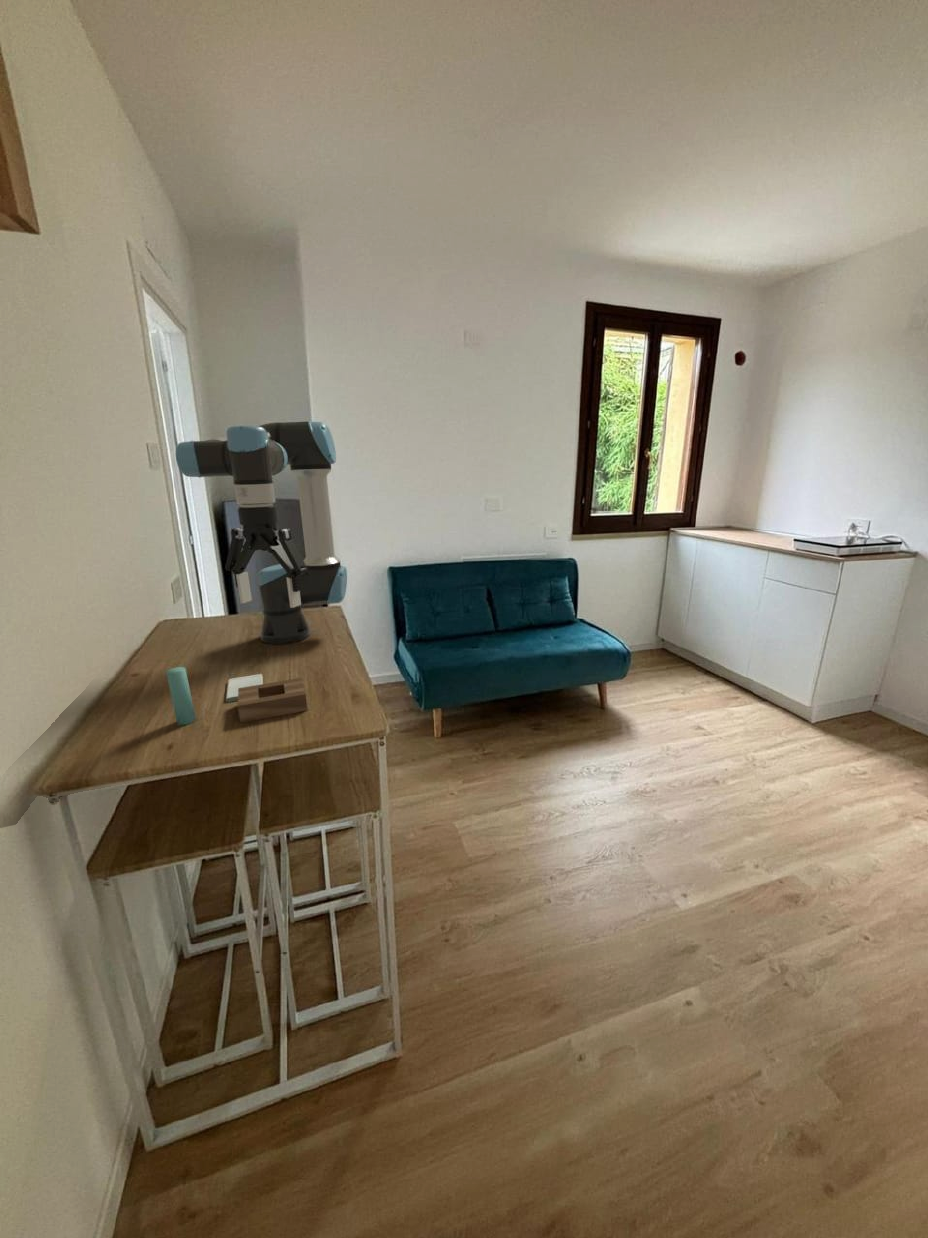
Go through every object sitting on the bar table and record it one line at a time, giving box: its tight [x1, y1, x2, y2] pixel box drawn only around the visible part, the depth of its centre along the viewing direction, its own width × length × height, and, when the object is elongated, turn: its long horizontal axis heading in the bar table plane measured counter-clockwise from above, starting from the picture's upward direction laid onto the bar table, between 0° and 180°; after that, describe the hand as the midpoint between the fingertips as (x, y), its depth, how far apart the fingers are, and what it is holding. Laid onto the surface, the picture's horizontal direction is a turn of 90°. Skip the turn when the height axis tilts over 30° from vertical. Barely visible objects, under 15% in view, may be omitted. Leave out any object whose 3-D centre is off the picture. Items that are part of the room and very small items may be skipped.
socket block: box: [237, 677, 308, 724], centre depth 116 cm, size 10×14×4 cm
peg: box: [166, 666, 197, 726], centre depth 110 cm, size 4×4×12 cm
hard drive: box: [225, 673, 264, 703], centre depth 127 cm, size 2×8×12 cm
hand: (270, 604), depth 112 cm, fingers open, 13 cm apart
